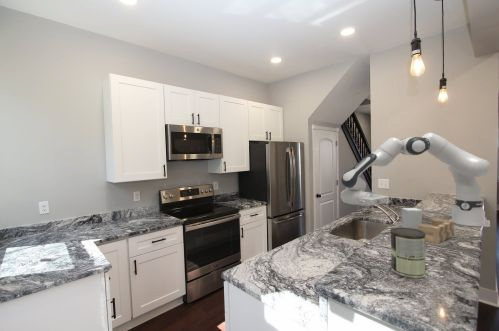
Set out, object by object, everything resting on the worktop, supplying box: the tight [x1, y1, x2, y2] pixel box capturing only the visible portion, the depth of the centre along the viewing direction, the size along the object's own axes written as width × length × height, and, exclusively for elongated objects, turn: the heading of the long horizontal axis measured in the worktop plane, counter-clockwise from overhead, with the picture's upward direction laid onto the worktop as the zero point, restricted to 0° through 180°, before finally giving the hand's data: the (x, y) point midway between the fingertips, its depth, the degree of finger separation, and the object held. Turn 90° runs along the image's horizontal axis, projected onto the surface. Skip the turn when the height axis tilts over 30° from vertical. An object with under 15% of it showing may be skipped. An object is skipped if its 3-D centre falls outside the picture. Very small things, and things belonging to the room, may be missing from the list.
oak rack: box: [418, 218, 455, 245], centre depth 124 cm, size 21×8×7 cm, turn 126°
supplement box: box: [401, 207, 423, 230], centre depth 133 cm, size 7×7×13 cm
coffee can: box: [390, 227, 427, 279], centre depth 87 cm, size 10×10×14 cm
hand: (389, 201), depth 142 cm, fingers closed
